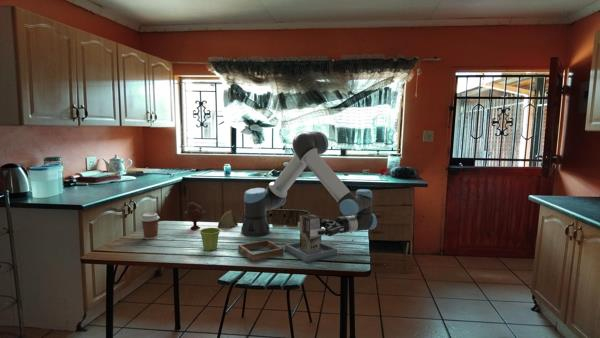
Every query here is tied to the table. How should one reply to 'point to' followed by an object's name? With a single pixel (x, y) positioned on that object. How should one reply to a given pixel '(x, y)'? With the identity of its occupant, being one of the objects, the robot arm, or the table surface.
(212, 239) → the plant pot
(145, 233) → the coffee cup
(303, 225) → the coffee box
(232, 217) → the rock
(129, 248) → the table surface
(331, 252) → the tray
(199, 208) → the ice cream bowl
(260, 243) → the square wooden frame
